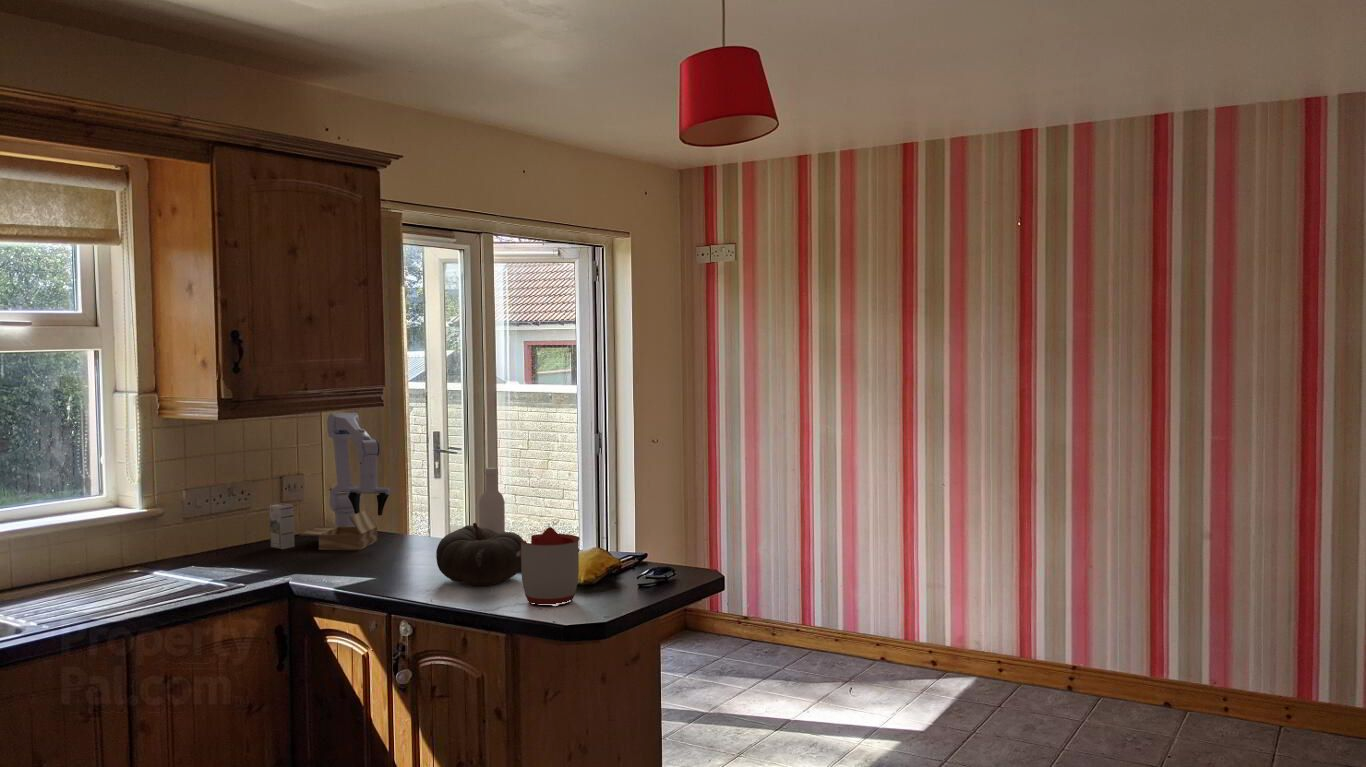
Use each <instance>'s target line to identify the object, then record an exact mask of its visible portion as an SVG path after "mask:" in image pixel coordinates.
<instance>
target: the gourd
mask: <svg viewBox="0 0 1366 767" xmlns="http://www.w3.org/2000/svg"><path fill="white" fill-rule="evenodd" d="M520 539H522V540H524V539H523V537H522V536H520V535H519V534H518V533H515V532H512V531H505V532H502V533H497V532H494V531H492V530H489V529H487V528H483V529H482V528H480V527H479V525H478V523H476V522H473V523H472V524H468V525H467V524H466V525H464V526H463V527H461V528H458V529H456V530H454V531H452V532H449V533H448V534H446V535H445V536H444V537H443V538H441V540H440V541H439V543H438V545H437V547H436V552H435V553H436V554H435V555H436V556H435V557H436V565H437V567H438V570H439V571H440V573H442V574H443V575H444V576H445V577H446V578H448V579H449V580H451V581H453V582H456V583H465V584H467V585H471V586H482V585H483V586H490V585H489V584H491V585H496V584H498V583H502V582H504V581H506V580H509V579H511V578H513V577H515V575H517V574H518V573H519V572H521V559H520V556H516V554H517V552H518V551H520ZM495 583H496V584H495Z"/></svg>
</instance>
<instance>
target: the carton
mask: <svg viewBox="0 0 1366 767" xmlns="http://www.w3.org/2000/svg"><path fill="white" fill-rule="evenodd" d="M299 536H302V537H303V536H308V537H309V536H311V537H312V536H313V537H315V536H317V537H318V550H323V551H324V550H325V551H326V550H327V551H360V550H363V549H365V548H367V547H369V546H371V545H374V543H375V544H376V543H378V527H376V528H374V529H372V530H369V531H367V532H365V533H363V534H361V535H360V533H359V532H358V530H357V529H356V527H335V526H316V527H314V528H311V529H309V530H306V531H304V532H301V533H299Z"/></svg>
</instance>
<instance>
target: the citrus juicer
mask: <svg viewBox="0 0 1366 767" xmlns="http://www.w3.org/2000/svg"><path fill="white" fill-rule="evenodd" d="M522 539H523V538H522ZM522 539H520V551H518V552H517V554H516V556H520V559H521V569H520V572H521V582H522V588H523V590H524V595H525V598H526V600H527V602H528V601H529V602H531V603H535V604H556V603H562V602H567V601H569V600H572V599H573V600H574V597H575V595H576V591H577V587H578V582H579V575H580V574H579V571H580V569H579V566H580V565H579V564H580V563H579V561H580V560H579V559H580V555H579V554H580V553H579V551H580V550H579V549H580V548H579V545H580V544H579V541H580V537H579V536H578V535H573V534H568V533H558V532H557V531H556V530H555V529H554V528H552V527H551V526H549V527H548V528H546V529H545V530H544V531H543V532H542V533H539V534H537V533H536V534H532V535H531V538H530V540H531V541H530V543H529V542H527V541H526V540H524V539H523V540H522ZM573 600H572V601H573ZM529 602H528V603H529Z"/></svg>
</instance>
